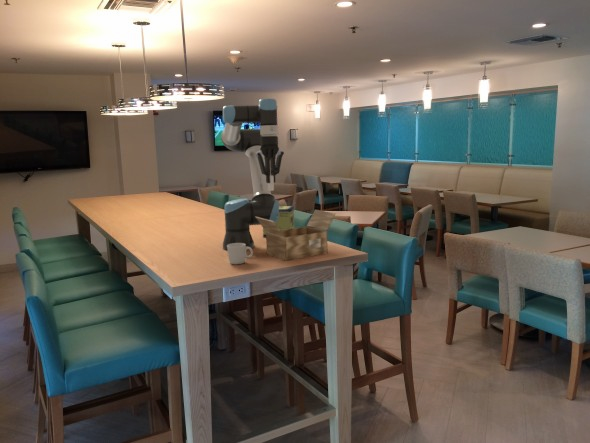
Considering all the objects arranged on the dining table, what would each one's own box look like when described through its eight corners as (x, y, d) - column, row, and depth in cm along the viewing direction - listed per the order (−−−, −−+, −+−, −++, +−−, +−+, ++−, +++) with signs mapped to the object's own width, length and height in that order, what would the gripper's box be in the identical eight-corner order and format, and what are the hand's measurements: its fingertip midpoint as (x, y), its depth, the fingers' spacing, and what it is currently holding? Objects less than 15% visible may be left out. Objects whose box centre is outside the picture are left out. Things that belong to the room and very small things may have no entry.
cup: (253, 260, 207) (253, 242, 206) (252, 264, 200) (251, 246, 198) (228, 261, 207) (227, 243, 206) (226, 265, 199) (225, 247, 198)
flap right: (326, 230, 214) (335, 213, 215) (306, 225, 228) (315, 209, 229) (326, 230, 214) (335, 213, 216) (307, 225, 228) (315, 209, 230)
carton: (285, 261, 204) (285, 238, 202) (266, 253, 220) (265, 231, 218) (328, 253, 215) (327, 231, 214) (306, 246, 231) (306, 226, 229)
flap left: (283, 237, 203) (272, 221, 199) (265, 231, 217) (255, 217, 213) (284, 236, 203) (273, 221, 200) (266, 231, 217) (255, 216, 213)
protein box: (291, 237, 253) (290, 208, 251) (262, 237, 257) (261, 208, 254) (295, 234, 264) (294, 206, 261) (267, 233, 267) (266, 206, 264)
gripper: (258, 136, 199) (261, 192, 203) (286, 135, 205) (288, 189, 209) (251, 136, 206) (254, 190, 210) (278, 135, 212) (280, 188, 216)
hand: (271, 190), depth 210 cm, fingers closed
